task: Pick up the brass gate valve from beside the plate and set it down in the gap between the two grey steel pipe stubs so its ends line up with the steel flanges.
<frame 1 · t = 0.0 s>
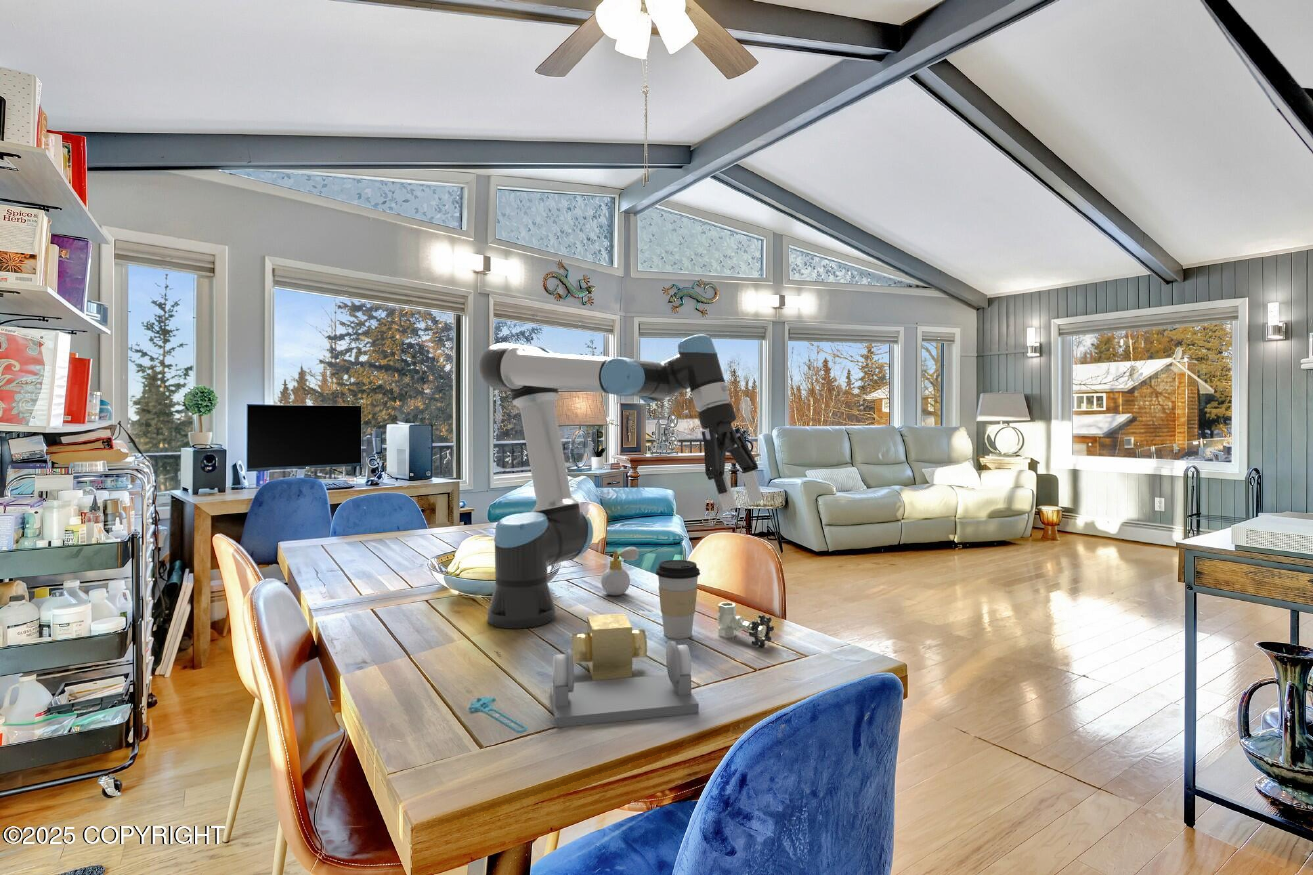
hand: (744, 505, 132), 28 cm above the table, tool tilted 20°, fingers open, 13 cm apart
brass gate valve: (609, 670, 117), on the table
perfume bottle: (618, 594, 168), on the table
pipe run plate: (622, 703, 104), on the table
coffee cup: (677, 635, 137), on the table
adjustable wrench: (499, 719, 99), on the table
valve: (740, 641, 133), on the table
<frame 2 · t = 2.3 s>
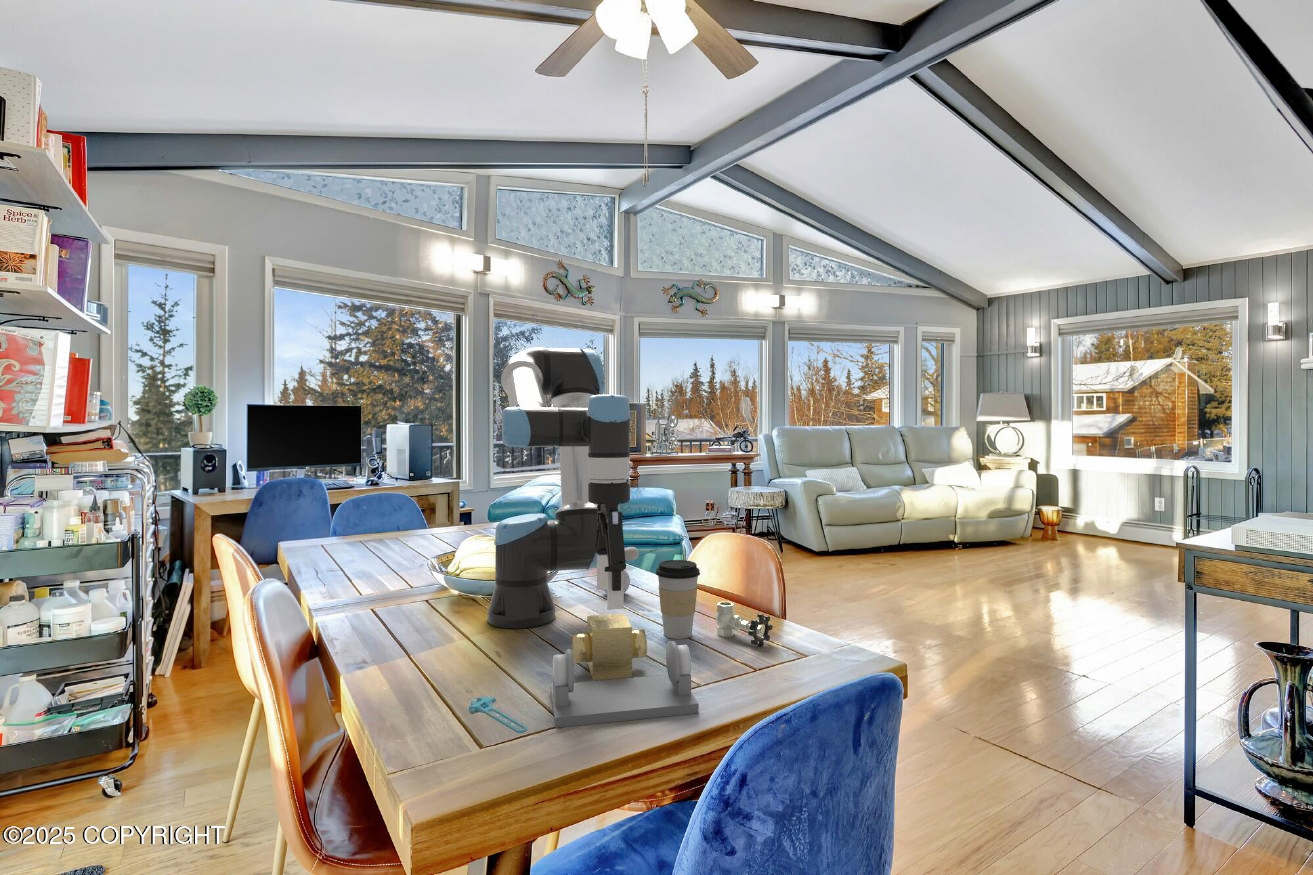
hand: (609, 598, 116), 13 cm above the table, tool pointing down, fingers open, 13 cm apart
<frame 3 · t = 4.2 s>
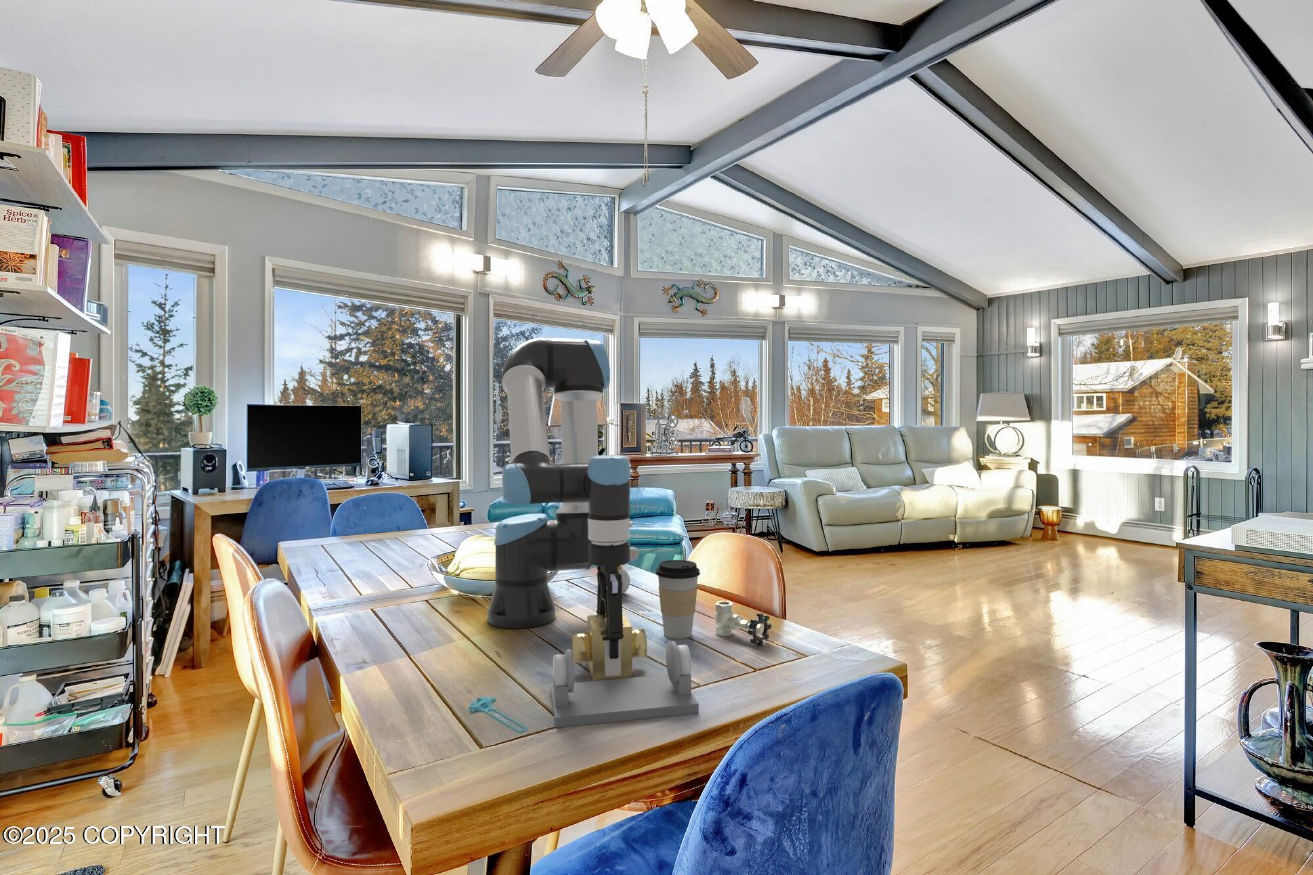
hand: (609, 665, 117), 1 cm above the table, tool pointing down, fingers closed on brass gate valve, 8 cm apart
brass gate valve: (609, 669, 117), on the table, touching gripper
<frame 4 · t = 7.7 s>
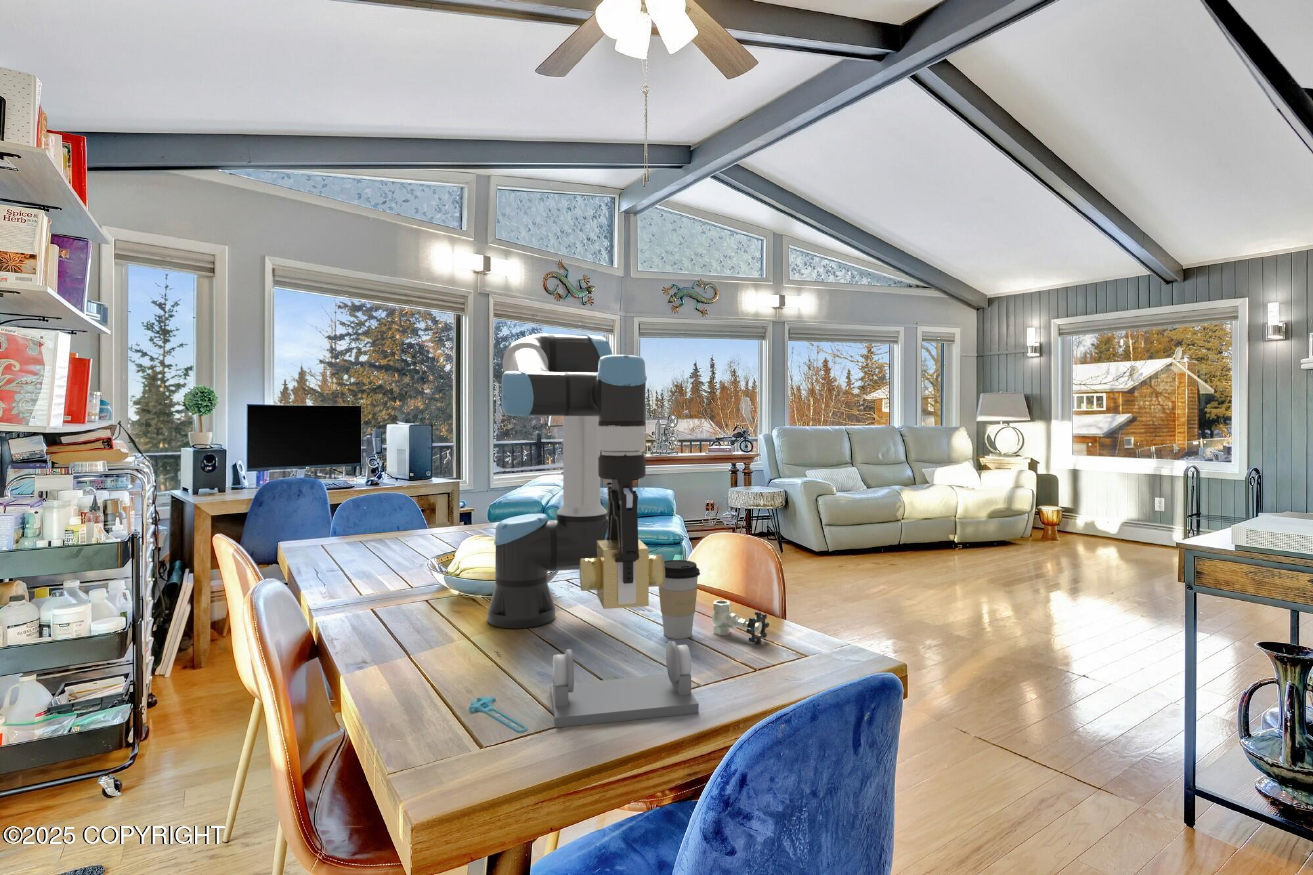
hand: (622, 595, 103), 17 cm above the table, tool pointing down, fingers closed on brass gate valve, 8 cm apart
brass gate valve: (622, 600, 103), point 17 cm above the table, touching gripper
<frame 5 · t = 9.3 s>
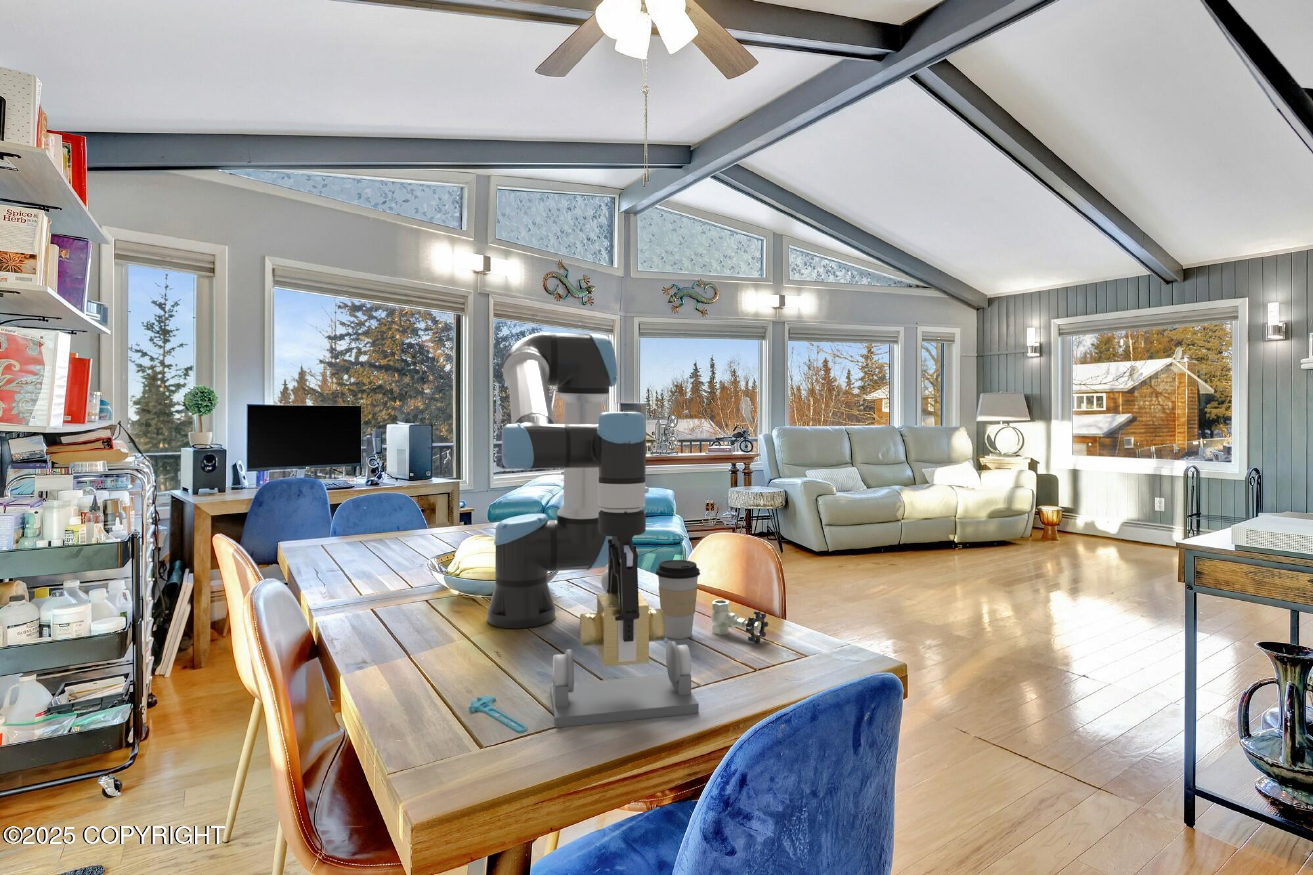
hand: (622, 650, 103), 9 cm above the table, tool pointing down, fingers closed on brass gate valve, 8 cm apart
brass gate valve: (622, 655, 103), point 8 cm above the table, touching gripper
when the fingers open (4 cm above the table, at t = 11.0 s): brass gate valve drops 2 cm, resting on pipe run plate.
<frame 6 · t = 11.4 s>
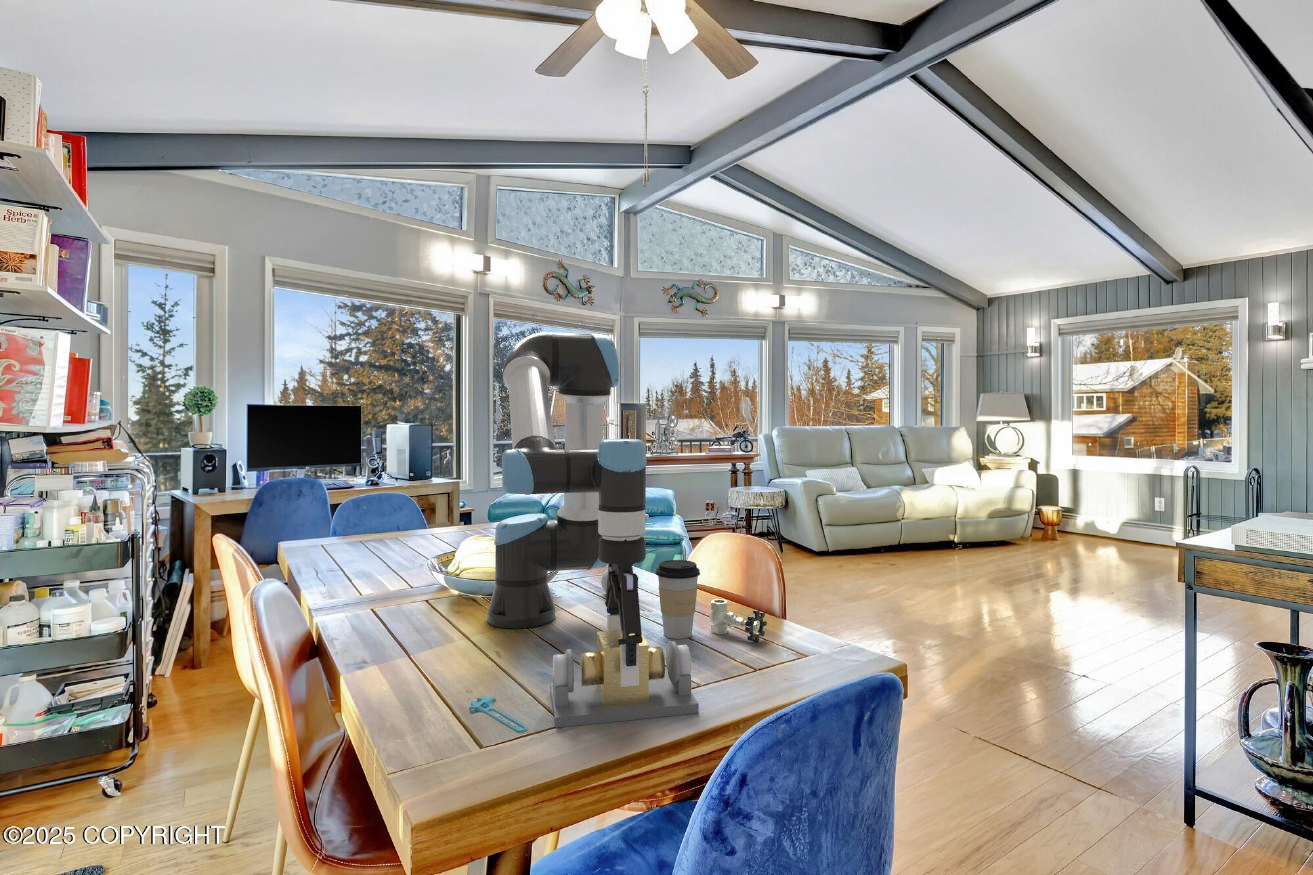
hand: (622, 668, 103), 6 cm above the table, tool pointing down, fingers open, 13 cm apart
brass gate valve: (622, 693, 104), point 1 cm above the table, touching pipe run plate
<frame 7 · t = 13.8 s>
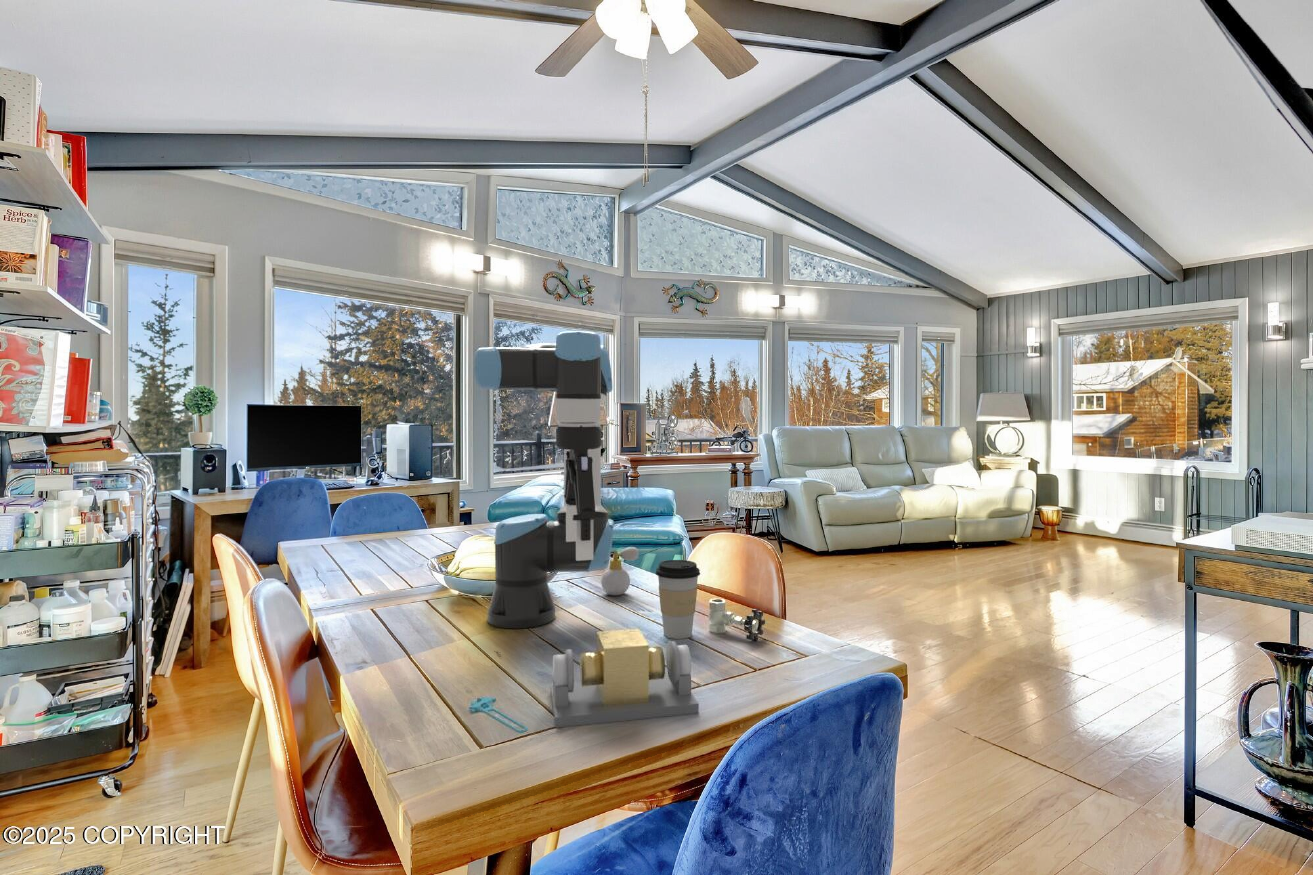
hand: (578, 550, 110), 23 cm above the table, tool pointing down, fingers open, 13 cm apart
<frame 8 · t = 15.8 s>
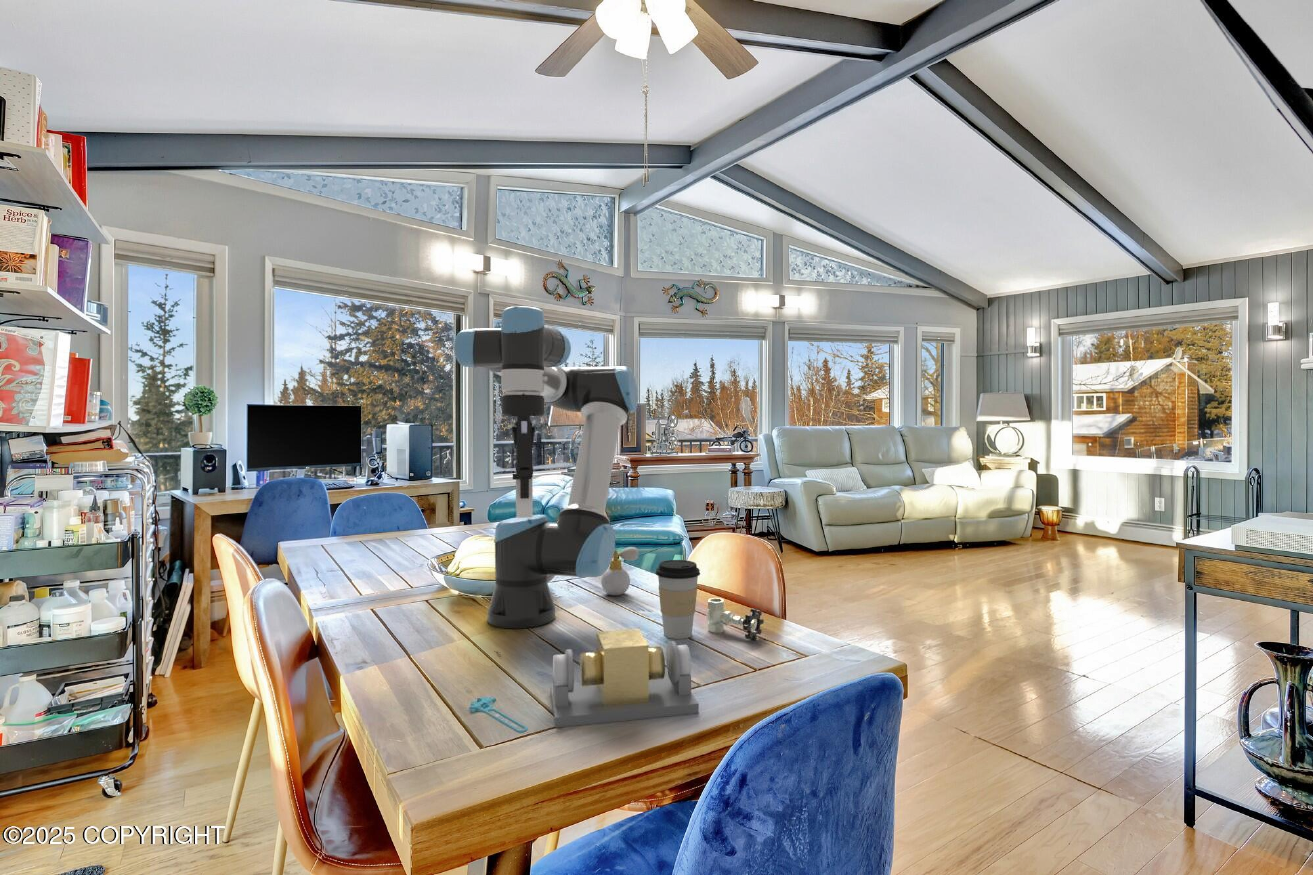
hand: (523, 511, 117), 29 cm above the table, tool pointing down, fingers open, 13 cm apart
at the end: brass gate valve 0.0 cm off-centre on the pipe run plate, point 1.5 cm above the pipe run plate's base; brass gate valve tilted 0°; the gripper is holding nothing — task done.
